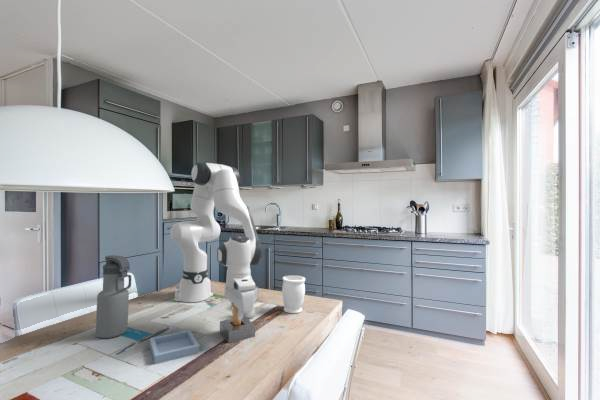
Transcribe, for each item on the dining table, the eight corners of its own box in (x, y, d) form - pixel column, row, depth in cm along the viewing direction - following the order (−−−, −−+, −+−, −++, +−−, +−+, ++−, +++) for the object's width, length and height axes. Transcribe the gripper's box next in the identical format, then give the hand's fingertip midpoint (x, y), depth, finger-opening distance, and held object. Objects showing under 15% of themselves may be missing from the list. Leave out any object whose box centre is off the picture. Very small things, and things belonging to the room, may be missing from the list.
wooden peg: (229, 330, 109) (230, 301, 109) (239, 328, 111) (240, 299, 111) (233, 334, 105) (234, 304, 105) (244, 332, 108) (245, 302, 108)
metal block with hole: (219, 331, 110) (219, 321, 110) (244, 326, 115) (244, 316, 115) (228, 343, 101) (229, 331, 101) (254, 336, 107) (255, 325, 107)
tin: (253, 299, 147) (253, 282, 147) (259, 299, 146) (259, 283, 146) (241, 310, 132) (242, 291, 132) (247, 310, 132) (248, 292, 132)
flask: (252, 320, 121) (252, 296, 121) (235, 318, 123) (236, 294, 123) (257, 313, 128) (258, 291, 128) (242, 312, 130) (243, 289, 130)
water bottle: (134, 329, 109) (137, 255, 109) (111, 341, 100) (114, 260, 100) (113, 325, 112) (115, 253, 112) (88, 336, 103) (91, 257, 103)
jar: (306, 307, 138) (307, 276, 138) (302, 315, 128) (303, 281, 128) (284, 305, 140) (285, 274, 140) (279, 313, 129) (280, 279, 130)
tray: (149, 345, 98) (149, 338, 98) (189, 336, 105) (190, 329, 105) (154, 364, 87) (155, 356, 87) (199, 352, 94) (199, 345, 94)
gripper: (221, 273, 115) (220, 308, 115) (240, 288, 98) (239, 328, 98) (236, 272, 119) (235, 305, 119) (257, 285, 102) (256, 324, 102)
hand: (237, 316), depth 108 cm, fingers closed on wooden peg, 4 cm apart
